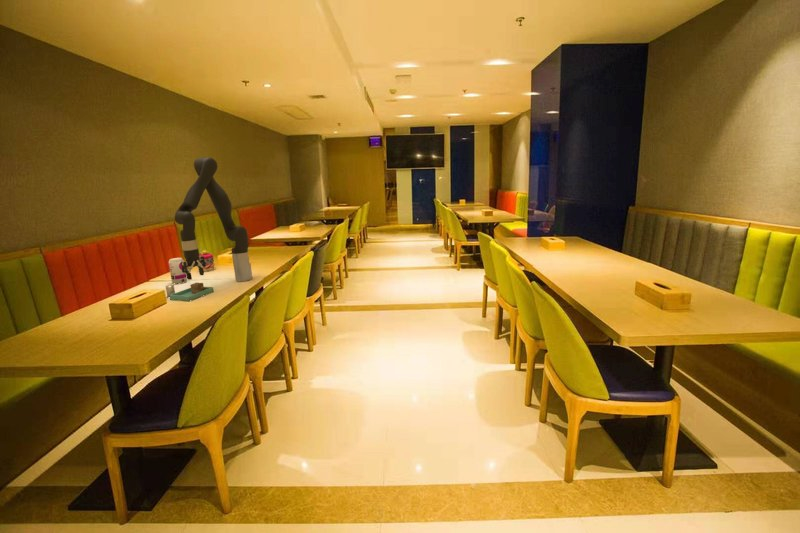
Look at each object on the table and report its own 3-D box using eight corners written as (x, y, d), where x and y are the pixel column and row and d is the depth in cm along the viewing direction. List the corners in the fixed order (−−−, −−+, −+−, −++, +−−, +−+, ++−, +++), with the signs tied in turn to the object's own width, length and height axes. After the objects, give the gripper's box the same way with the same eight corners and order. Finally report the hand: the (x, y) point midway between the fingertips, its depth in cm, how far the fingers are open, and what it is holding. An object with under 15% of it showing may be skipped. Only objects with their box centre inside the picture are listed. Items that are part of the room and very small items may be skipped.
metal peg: (171, 295, 224) (169, 284, 223) (177, 295, 223) (175, 285, 222) (165, 297, 221) (163, 286, 219) (171, 297, 219) (169, 287, 218)
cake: (218, 269, 282) (215, 248, 279) (204, 272, 274) (200, 251, 270) (209, 268, 288) (206, 247, 284) (195, 271, 279) (191, 250, 276)
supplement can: (189, 280, 255) (186, 257, 251) (181, 284, 247) (177, 260, 243) (177, 280, 255) (173, 257, 252) (169, 284, 247) (164, 260, 244)
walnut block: (197, 291, 227) (196, 282, 226) (204, 291, 226) (203, 282, 225) (191, 293, 223) (190, 284, 222) (198, 293, 222) (196, 285, 221)
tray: (195, 290, 231) (194, 286, 230) (213, 291, 227) (213, 287, 226) (170, 300, 215) (169, 295, 214) (189, 301, 211) (188, 296, 210)
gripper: (185, 251, 211) (191, 281, 215) (205, 245, 224) (211, 273, 228) (174, 251, 213) (180, 280, 218) (195, 245, 226) (200, 273, 231)
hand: (196, 277), depth 223 cm, fingers open, 8 cm apart
